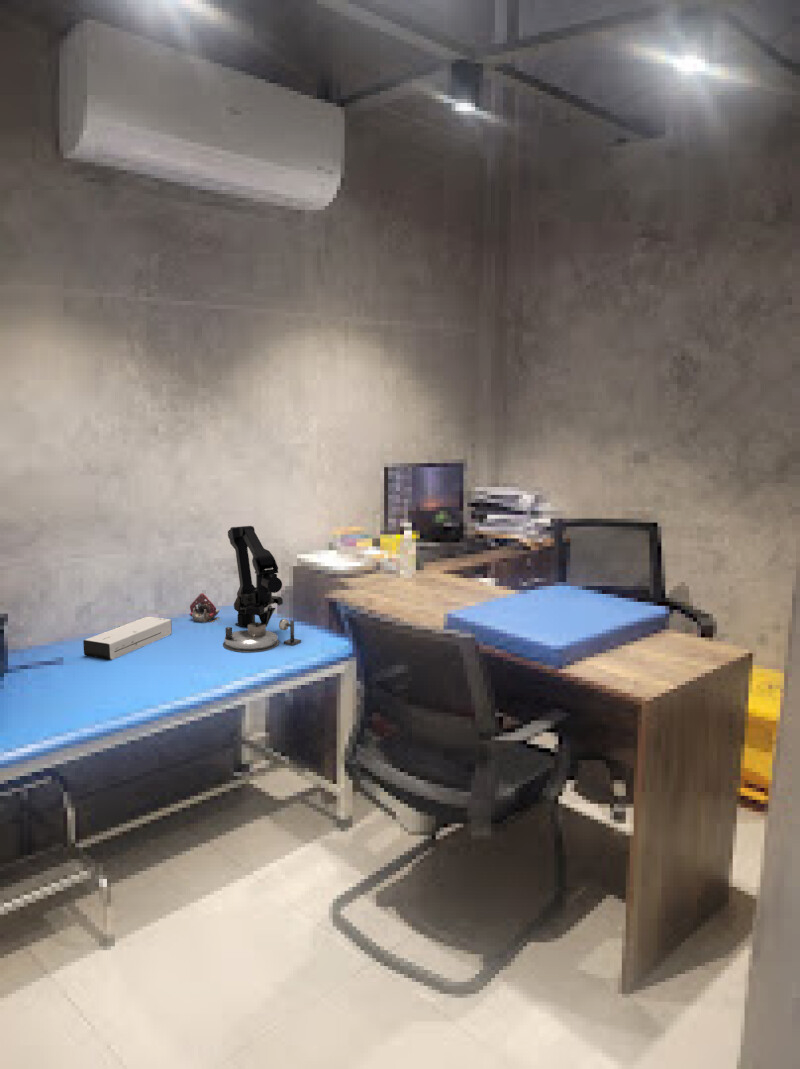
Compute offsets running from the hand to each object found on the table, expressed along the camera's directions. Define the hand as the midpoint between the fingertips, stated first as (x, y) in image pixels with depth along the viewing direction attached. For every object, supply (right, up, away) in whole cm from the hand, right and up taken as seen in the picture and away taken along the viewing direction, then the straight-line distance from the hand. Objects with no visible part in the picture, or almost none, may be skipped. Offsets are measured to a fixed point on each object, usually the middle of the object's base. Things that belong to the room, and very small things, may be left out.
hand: (264, 627), depth 309 cm
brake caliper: (-28, 0, +22) cm, 36 cm away
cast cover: (-2, -2, -5) cm, 6 cm away
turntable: (-3, -5, -9) cm, 11 cm away
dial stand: (+11, -5, -7) cm, 14 cm away
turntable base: (-3, -5, -9) cm, 11 cm away
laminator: (-47, -5, -12) cm, 49 cm away
